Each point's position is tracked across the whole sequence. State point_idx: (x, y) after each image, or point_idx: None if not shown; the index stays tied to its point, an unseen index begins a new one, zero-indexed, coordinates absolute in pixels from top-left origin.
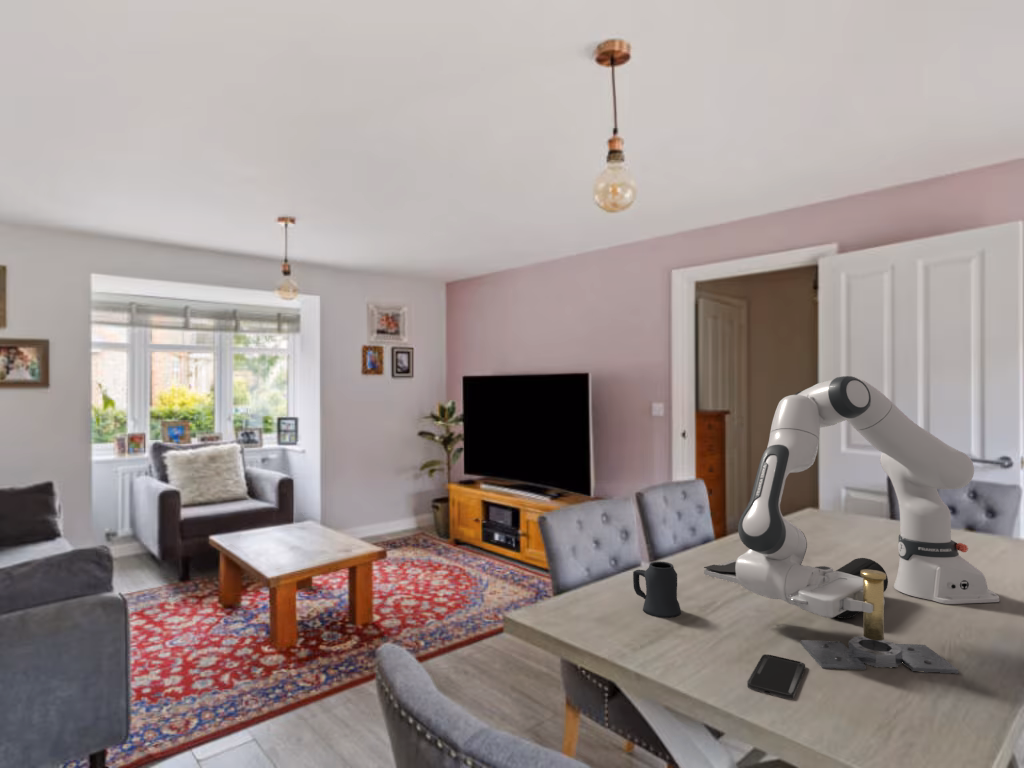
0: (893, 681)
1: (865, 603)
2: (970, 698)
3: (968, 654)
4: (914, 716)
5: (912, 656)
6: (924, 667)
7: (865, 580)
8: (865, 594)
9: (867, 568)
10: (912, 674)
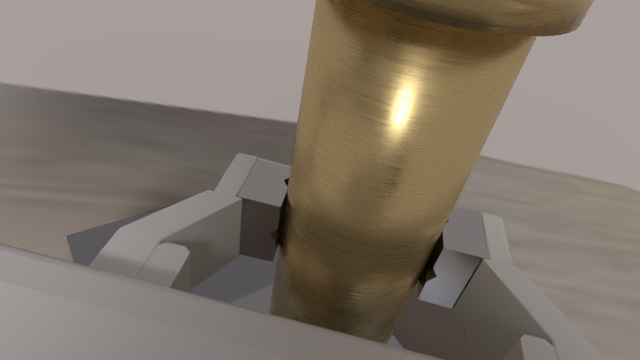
0: None
1: (505, 245)
2: None
3: (79, 156)
4: (632, 280)
5: (231, 272)
6: None
7: (521, 62)
8: (453, 202)
9: None
10: None
